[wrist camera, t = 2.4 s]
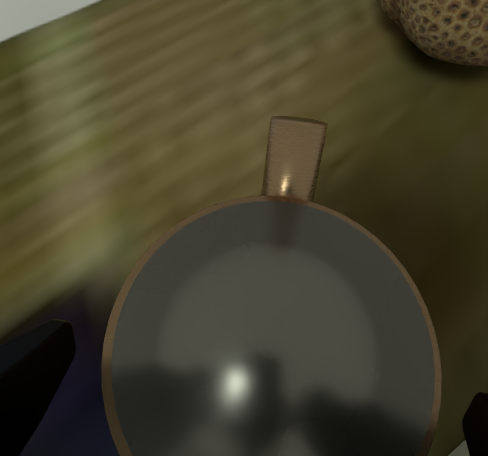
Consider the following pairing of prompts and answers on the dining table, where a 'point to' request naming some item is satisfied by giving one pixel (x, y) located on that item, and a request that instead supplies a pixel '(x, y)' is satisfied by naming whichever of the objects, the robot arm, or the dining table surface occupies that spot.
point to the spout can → (271, 330)
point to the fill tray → (460, 450)
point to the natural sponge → (444, 27)
